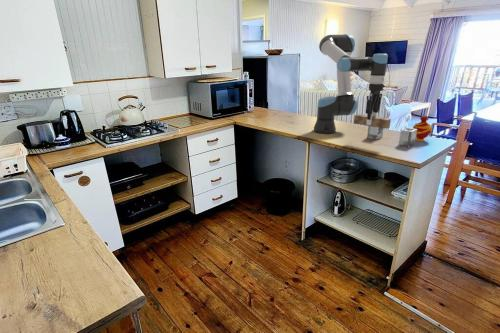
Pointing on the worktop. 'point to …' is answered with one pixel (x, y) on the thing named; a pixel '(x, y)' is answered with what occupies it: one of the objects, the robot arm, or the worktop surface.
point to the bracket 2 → (408, 137)
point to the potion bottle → (422, 129)
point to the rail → (375, 122)
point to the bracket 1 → (375, 132)
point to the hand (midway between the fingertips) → (370, 124)
